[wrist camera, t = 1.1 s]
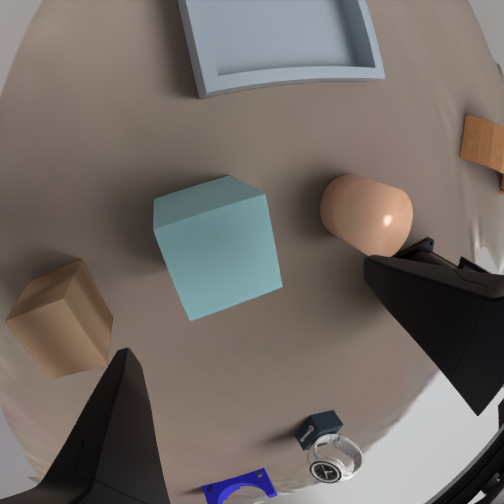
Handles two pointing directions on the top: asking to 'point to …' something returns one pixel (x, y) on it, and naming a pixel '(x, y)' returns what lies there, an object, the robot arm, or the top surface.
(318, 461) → the watch
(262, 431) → the top surface
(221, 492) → the cable clip
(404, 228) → the terracotta cylinder
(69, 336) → the walnut cube
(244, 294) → the teal block
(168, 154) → the top surface
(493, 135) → the arch
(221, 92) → the tray
